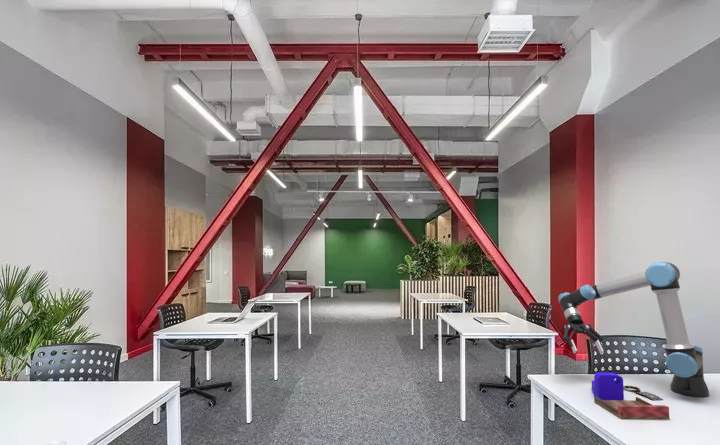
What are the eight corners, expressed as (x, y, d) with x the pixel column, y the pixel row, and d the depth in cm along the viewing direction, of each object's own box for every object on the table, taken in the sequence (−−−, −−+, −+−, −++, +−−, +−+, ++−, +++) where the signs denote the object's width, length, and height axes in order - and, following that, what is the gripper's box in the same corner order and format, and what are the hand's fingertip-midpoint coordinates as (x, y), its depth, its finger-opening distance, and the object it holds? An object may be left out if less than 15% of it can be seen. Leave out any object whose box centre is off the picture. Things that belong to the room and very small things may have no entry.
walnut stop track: (637, 402, 196) (637, 391, 196) (669, 419, 176) (668, 407, 176) (594, 402, 196) (594, 391, 196) (620, 419, 176) (620, 406, 176)
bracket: (624, 401, 197) (623, 375, 198) (599, 400, 198) (598, 374, 199) (605, 389, 215) (605, 365, 216) (583, 388, 216) (582, 364, 217)
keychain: (649, 401, 199) (649, 397, 199) (618, 388, 217) (618, 384, 218) (664, 401, 200) (664, 396, 200) (632, 388, 219) (632, 384, 219)
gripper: (593, 322, 237) (610, 356, 221) (548, 321, 237) (562, 355, 221) (599, 314, 232) (616, 348, 216) (553, 313, 232) (566, 347, 216)
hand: (588, 352), depth 219 cm, fingers open, 13 cm apart
